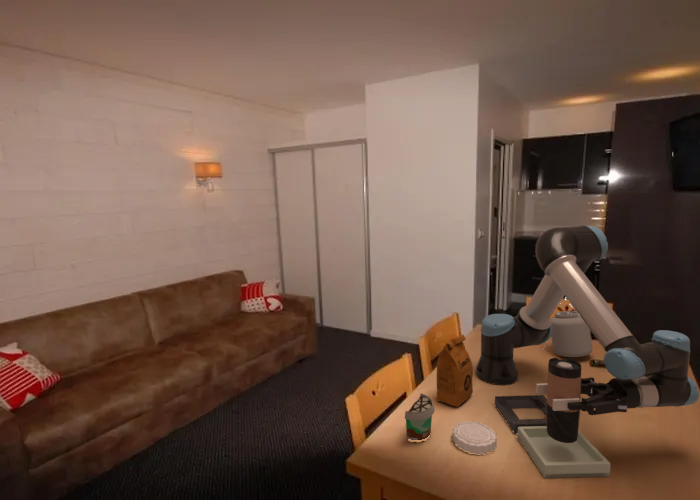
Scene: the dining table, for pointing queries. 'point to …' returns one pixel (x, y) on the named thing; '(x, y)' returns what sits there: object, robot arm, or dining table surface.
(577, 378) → the travel mug
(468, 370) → the coffee package
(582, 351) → the jar
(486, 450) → the mooncake
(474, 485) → the dining table surface
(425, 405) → the food container
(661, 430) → the dining table surface
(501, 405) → the holder frame
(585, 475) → the tray
